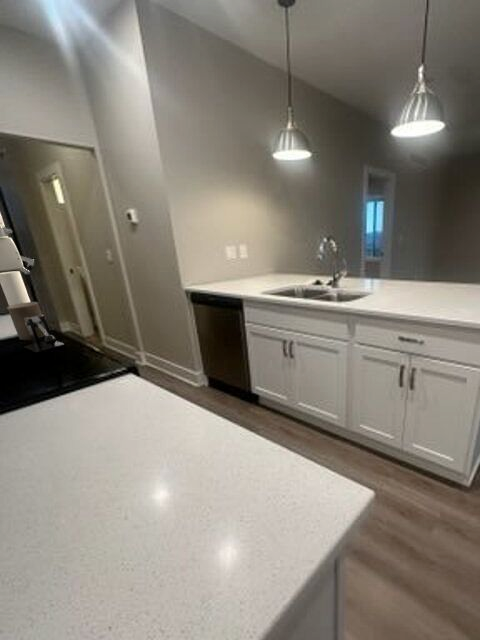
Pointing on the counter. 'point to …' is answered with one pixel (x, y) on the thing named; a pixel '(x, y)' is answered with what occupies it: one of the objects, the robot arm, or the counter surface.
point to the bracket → (37, 344)
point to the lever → (43, 330)
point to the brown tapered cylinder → (20, 313)
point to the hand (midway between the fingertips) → (11, 288)
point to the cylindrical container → (14, 288)
